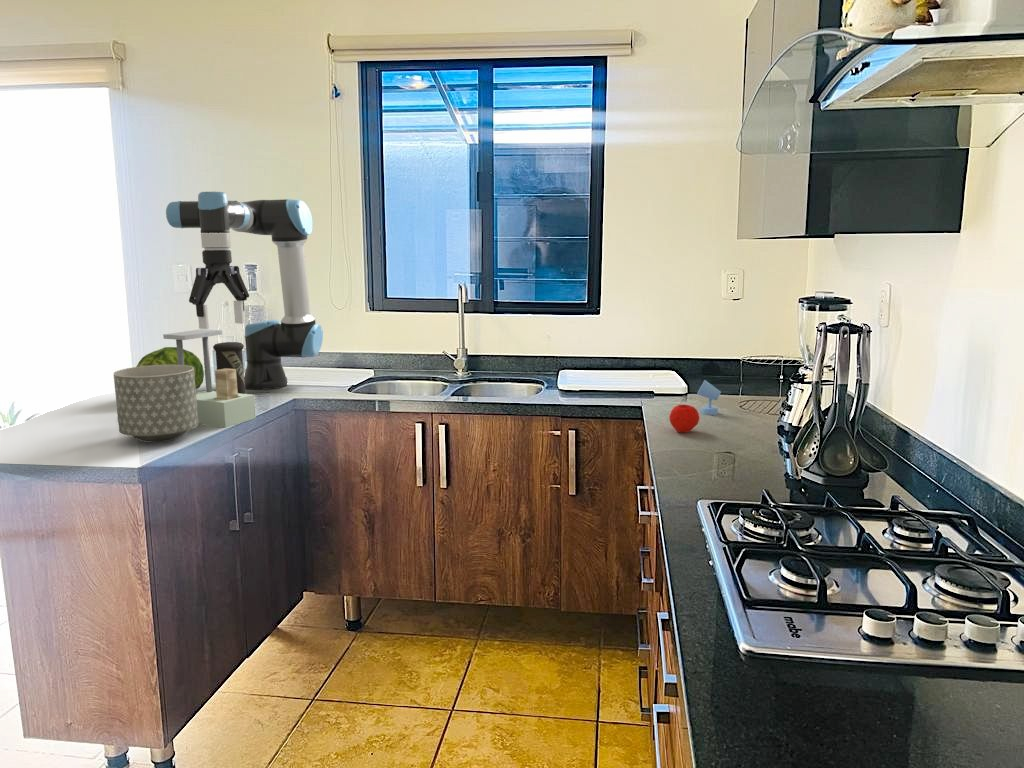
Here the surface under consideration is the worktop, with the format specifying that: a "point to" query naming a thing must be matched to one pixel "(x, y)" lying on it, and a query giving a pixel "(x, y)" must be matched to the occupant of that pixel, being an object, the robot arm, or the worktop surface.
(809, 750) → the worktop surface
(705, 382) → the spotlight
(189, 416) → the planter
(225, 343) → the container
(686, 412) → the apple
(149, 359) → the lettuce
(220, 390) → the peg
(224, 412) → the socket station
